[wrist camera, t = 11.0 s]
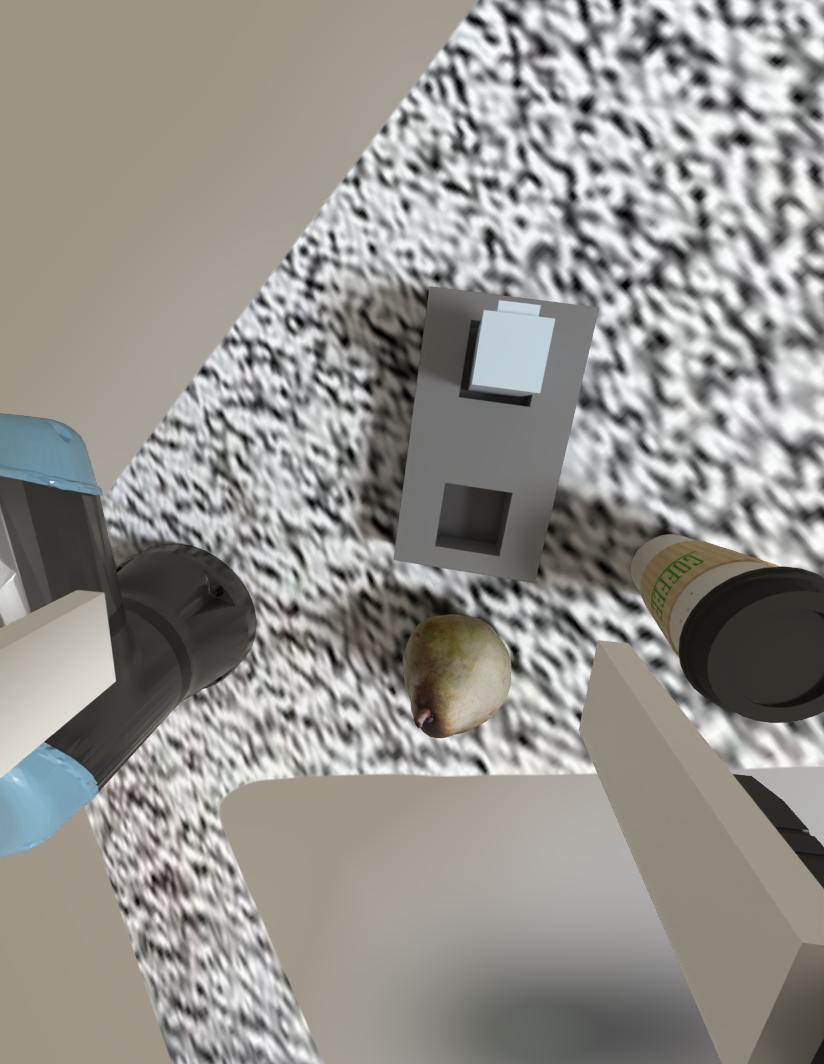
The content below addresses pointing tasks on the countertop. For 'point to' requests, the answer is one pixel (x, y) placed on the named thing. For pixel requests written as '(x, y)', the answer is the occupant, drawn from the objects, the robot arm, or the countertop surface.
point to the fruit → (455, 674)
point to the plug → (511, 350)
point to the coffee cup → (738, 626)
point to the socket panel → (486, 444)
